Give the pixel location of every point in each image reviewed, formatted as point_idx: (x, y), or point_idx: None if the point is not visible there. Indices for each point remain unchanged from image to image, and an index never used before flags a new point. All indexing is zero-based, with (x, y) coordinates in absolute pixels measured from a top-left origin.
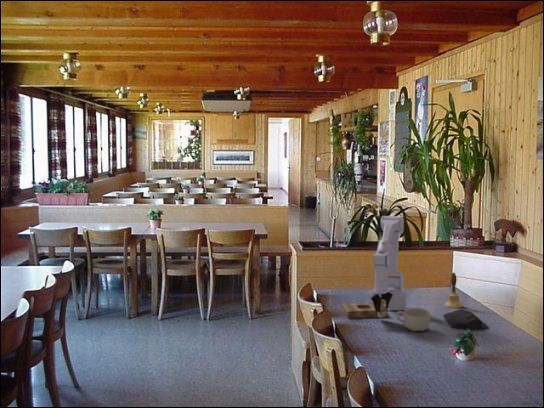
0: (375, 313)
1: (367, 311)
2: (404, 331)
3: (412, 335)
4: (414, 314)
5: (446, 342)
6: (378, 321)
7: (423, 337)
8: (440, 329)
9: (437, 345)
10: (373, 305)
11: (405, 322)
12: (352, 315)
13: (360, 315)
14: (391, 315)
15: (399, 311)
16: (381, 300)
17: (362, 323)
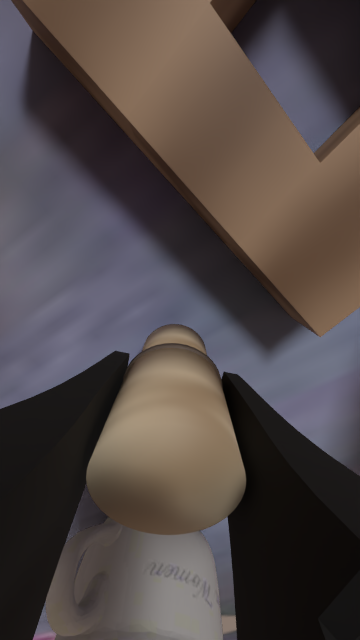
0: (241, 255)
1: (188, 190)
2: (88, 504)
3: (66, 541)
4: (198, 589)
5: None
6: (145, 332)
7: (78, 569)
8: (216, 572)
9: (41, 613)
10: None
11: (87, 556)
12: (64, 61)
13: (136, 140)
14: (336, 325)
15: (53, 629)
16: (183, 479)
17: (20, 270)
